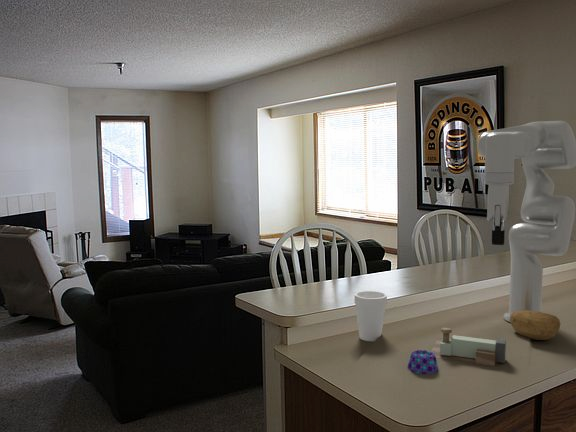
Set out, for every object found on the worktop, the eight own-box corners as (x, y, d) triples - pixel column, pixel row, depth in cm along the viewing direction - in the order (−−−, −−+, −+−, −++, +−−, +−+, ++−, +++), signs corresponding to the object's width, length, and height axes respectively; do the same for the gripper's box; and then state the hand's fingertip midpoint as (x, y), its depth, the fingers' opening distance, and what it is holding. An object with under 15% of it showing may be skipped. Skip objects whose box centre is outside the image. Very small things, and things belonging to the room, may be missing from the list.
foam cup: (385, 344, 161) (386, 299, 160) (353, 342, 163) (353, 298, 162) (386, 333, 170) (387, 291, 169) (355, 331, 172) (356, 290, 171)
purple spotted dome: (420, 387, 132) (421, 365, 132) (388, 370, 143) (388, 350, 142) (458, 377, 138) (458, 356, 137) (424, 361, 148) (424, 342, 148)
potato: (517, 329, 173) (518, 304, 172) (565, 340, 163) (566, 313, 162) (502, 336, 167) (503, 310, 166) (551, 348, 156) (552, 320, 156)
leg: (439, 354, 149) (440, 335, 148) (442, 349, 152) (442, 331, 152) (504, 363, 142) (504, 344, 141) (505, 357, 146) (506, 339, 145)
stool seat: (438, 341, 163) (438, 315, 162) (500, 350, 156) (501, 322, 155) (427, 360, 148) (428, 332, 147) (496, 370, 141) (497, 340, 140)
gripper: (486, 176, 163) (485, 238, 165) (482, 181, 149) (481, 249, 152) (514, 176, 160) (513, 239, 162) (513, 181, 146) (511, 250, 149)
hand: (498, 244), depth 157 cm, fingers closed
